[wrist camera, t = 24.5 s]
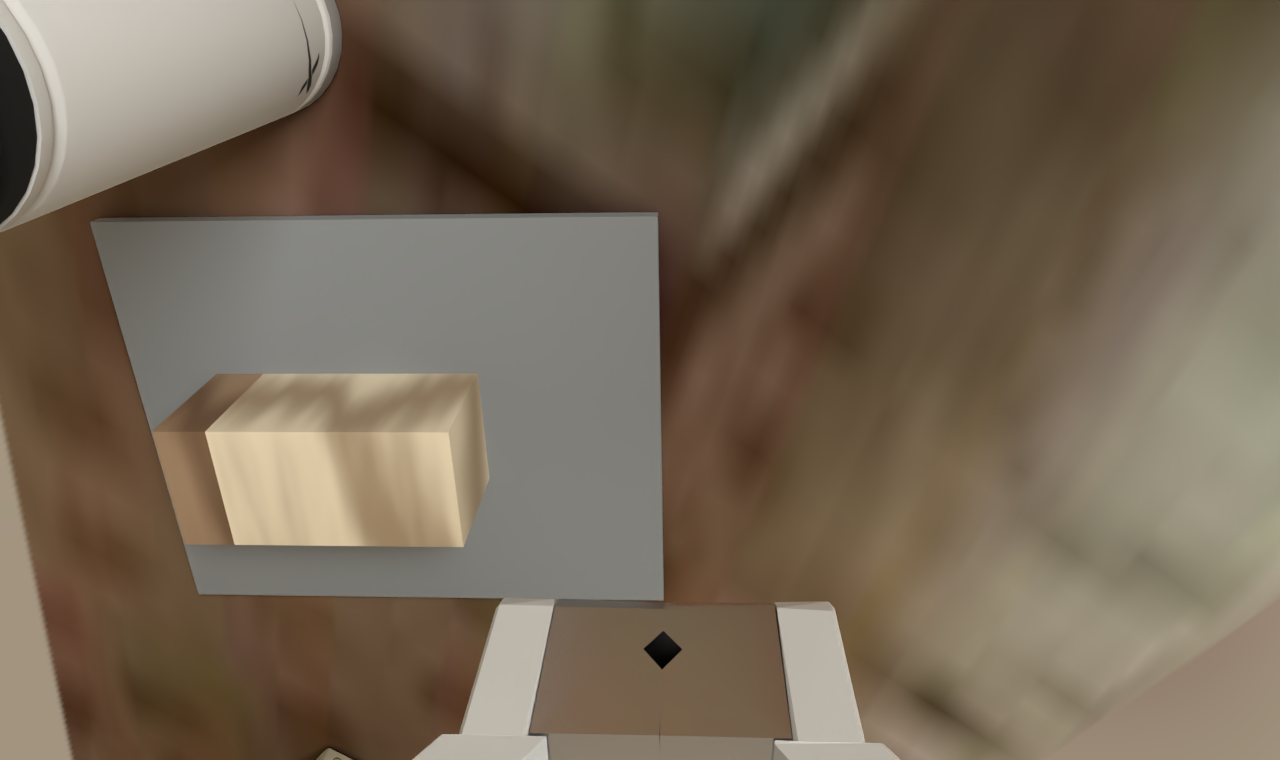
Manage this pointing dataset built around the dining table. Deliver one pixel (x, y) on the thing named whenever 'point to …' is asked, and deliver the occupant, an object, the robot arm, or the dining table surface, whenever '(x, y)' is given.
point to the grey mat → (430, 344)
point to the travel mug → (144, 86)
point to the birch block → (327, 460)
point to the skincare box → (332, 755)
